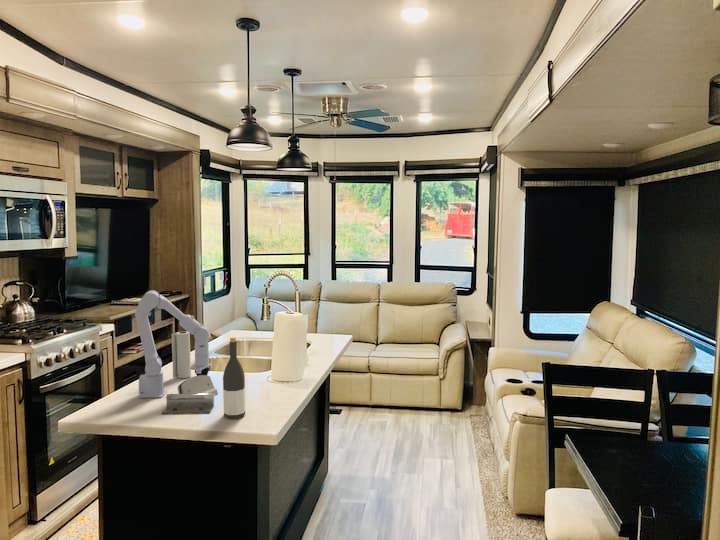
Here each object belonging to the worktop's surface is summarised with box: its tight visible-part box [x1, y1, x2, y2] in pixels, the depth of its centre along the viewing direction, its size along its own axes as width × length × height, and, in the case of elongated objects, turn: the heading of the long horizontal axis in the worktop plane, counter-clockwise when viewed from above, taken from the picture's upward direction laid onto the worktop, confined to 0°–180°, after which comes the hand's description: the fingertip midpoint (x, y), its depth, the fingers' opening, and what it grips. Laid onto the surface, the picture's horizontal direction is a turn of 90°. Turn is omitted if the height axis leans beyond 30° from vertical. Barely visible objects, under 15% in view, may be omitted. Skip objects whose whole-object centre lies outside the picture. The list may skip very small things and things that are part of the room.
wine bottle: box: [222, 336, 246, 420], centre depth 207 cm, size 8×8×30 cm
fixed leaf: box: [161, 393, 215, 415], centre depth 214 cm, size 18×8×5 cm, turn 93°
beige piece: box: [177, 374, 219, 396], centre depth 228 cm, size 17×5×10 cm, turn 150°
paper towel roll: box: [171, 330, 192, 379], centre depth 257 cm, size 7×6×21 cm
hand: (202, 385), depth 238 cm, fingers closed
